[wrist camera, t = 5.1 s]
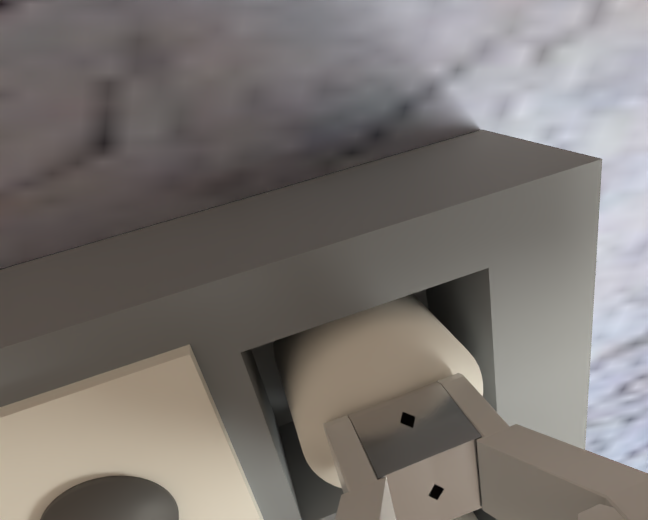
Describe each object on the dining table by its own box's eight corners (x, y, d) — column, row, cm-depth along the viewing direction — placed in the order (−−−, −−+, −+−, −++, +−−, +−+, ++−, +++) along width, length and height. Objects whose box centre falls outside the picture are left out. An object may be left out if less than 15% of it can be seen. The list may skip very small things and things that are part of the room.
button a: (410, 248, 12) (477, 305, 9) (427, 371, 13) (488, 449, 11) (254, 299, 11) (277, 376, 8) (295, 420, 13) (324, 517, 10)
